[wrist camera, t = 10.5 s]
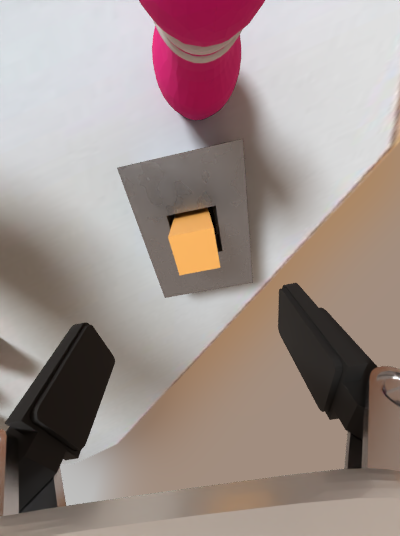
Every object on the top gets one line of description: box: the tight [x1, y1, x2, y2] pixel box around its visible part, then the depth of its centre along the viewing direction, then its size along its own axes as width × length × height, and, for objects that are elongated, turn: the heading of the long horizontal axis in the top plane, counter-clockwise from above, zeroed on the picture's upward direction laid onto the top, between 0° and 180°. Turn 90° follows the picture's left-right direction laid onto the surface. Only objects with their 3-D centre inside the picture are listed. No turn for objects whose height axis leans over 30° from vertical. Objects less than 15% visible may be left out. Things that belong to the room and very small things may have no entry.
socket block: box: [117, 139, 253, 298], centre depth 24 cm, size 16×12×6 cm
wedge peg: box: [168, 207, 220, 275], centre depth 22 cm, size 4×4×11 cm
